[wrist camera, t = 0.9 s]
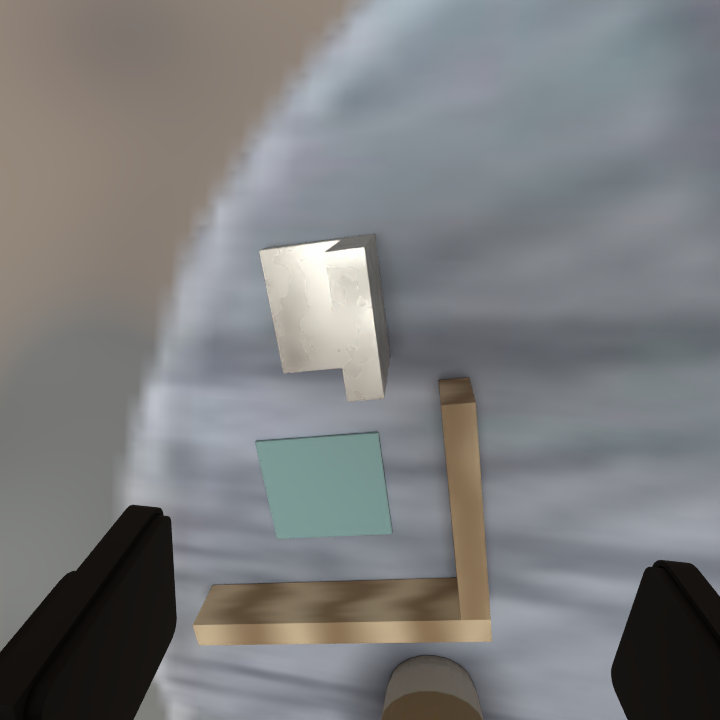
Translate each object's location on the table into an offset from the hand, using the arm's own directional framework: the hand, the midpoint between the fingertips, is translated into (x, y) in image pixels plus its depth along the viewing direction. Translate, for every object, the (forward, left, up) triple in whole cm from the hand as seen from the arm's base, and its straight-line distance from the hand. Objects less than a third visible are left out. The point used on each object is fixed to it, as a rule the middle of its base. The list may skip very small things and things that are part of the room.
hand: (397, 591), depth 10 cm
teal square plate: (+8, +13, -24) cm, 28 cm away
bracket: (+5, -1, -24) cm, 24 cm away
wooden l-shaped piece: (+8, +14, -24) cm, 29 cm away
